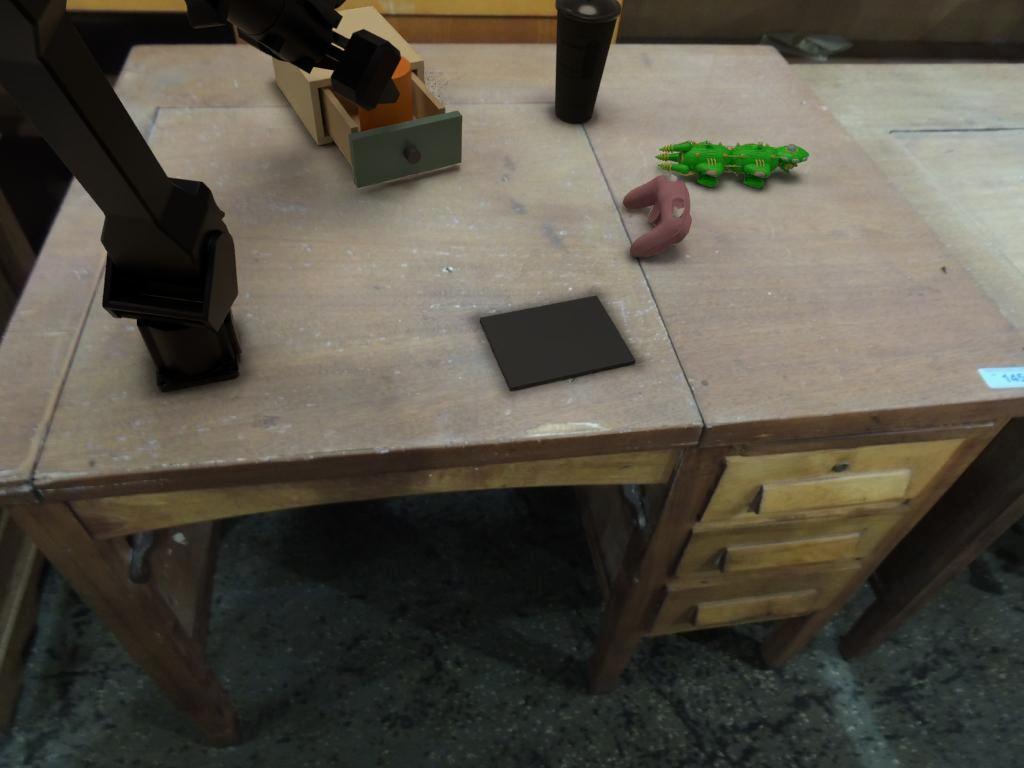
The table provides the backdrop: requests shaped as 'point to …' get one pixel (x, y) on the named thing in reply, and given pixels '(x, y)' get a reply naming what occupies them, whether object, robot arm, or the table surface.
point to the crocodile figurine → (731, 160)
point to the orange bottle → (392, 111)
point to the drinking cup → (581, 54)
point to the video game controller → (661, 213)
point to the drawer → (394, 137)
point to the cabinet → (305, 86)
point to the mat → (555, 342)
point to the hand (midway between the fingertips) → (366, 81)
